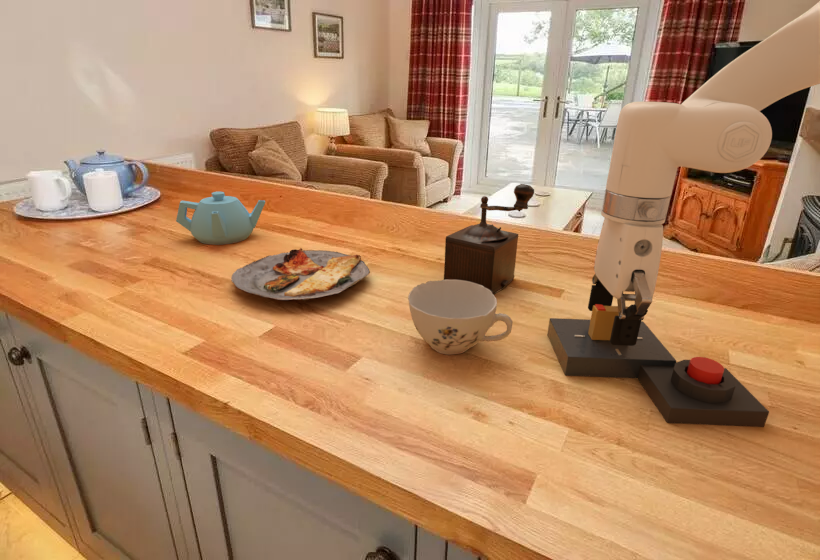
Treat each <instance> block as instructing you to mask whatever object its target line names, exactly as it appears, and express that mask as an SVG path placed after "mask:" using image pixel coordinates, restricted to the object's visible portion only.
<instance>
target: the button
mask: <svg viewBox="0 0 820 560" xmlns="http://www.w3.org/2000/svg"><path fill="white" fill-rule="evenodd" d="M689 360H690V362H689V366H688V370H687V374H688V376H689V377H691V378H693V379H695V380H697V381H699V382H703V383H706V384H719V383H720V382H721V379H722V376H723V373H724V368H725V367H724V365H722V364H721V363H720V362H718V361H717V360H714V359H713V358H709V357H705V356H694V357H691V358H690V359H689Z"/></svg>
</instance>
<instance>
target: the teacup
mask: <svg viewBox="0 0 820 560" xmlns="http://www.w3.org/2000/svg"><path fill="white" fill-rule="evenodd" d="M407 298H408V299H407V300H408V306H409V312H410V316H411V320H412V323H413V326H414V327H415V329H416V331H417V332H418V334H419V335H420V337H421V338H422V339H423V340H424V341H425V343H426V344H428V345H429V346H430V348H431V349H432V350H433V351H435V352H437V353H439V354H442V355H459V354H463V353H465V352H467V351H468V350H469V349H471V348H472V347H474V346H475V345H477V344H478V343H481V342H498V341H502V340H504V339H506V338H507V337H509V335H510V334H511V333H512V330H513V320H512V318H511V316H510V315H508V314H506V313H502V312H501V313H500V312H499V313H496V312H497V309H498V308H497V307H498V298H497V297H496V296H495V294H492V292H491V291H490V290H489V289H487V288H484V286H482V285H479V284H476V283H472V282H469V281H463V280H444V279H440V280H429V281H427V282H425V283H424V282H422V283H420V284H417V285H416V286H414V287H413V288H412V290H410V292H409V294H408V297H407ZM497 322H503V323H505V326H506V330H505V331H503V332H501V333H500V334H495V335H487V333H488V331H489V329H490V328H492V327H493V326H494V325H495V324H496V323H497Z"/></svg>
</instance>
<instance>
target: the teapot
mask: <svg viewBox="0 0 820 560" xmlns="http://www.w3.org/2000/svg"><path fill="white" fill-rule="evenodd" d="M265 204H266V200H264V199H263V200H262V199H258V201H257V202H256V204H255V206H254V208H253V209H252V211H251V212H249V210H248V209H247V208H246V206H245V205H244V204H243V203H242V201H240V199H239V198H238V197H236V196H231V195H226V194H225V192H224V191H213V192H211V196H208V197H204V198H202V199H200V200H199V202H196V201H195V202H194V201H188V200H180V202H179V204H178V209H177V214H176V219H175V223H177V224H179V225H180V226H181V227H183V228H185V229H186V230H187V231H189V232H190V234H191V235H192V237H193V238H195V240H197V241H198V242H199V243H202V244H204V245H209V246H210V245H211V246H212V245H213V246H221V245H231V244H237V243H240V242H243V241H245V240H247V239H248V238H249V237H250V235H251V234H252V233H253V231H254V229H256V226H257V225H258V222H259V220H260V217H261V214H262V212H263V209H264V207H265V206H266V205H265ZM188 209H191V210H194V211H193V214H192V217H191V218H189V217H188V216H187V215H188Z"/></svg>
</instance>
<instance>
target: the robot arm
mask: <svg viewBox="0 0 820 560" xmlns="http://www.w3.org/2000/svg"><path fill="white" fill-rule="evenodd" d="M817 85H820V0H819V1H818V2H817V3H816V4H814V5H813V6H811V7H810V8H809V9H808V10H806V11H805V12H804V13H802V14H801V15H799V16H797V17H796V18H794V19H792V20H790V21H789V22H788V23H786V24H785V25H783V26H781V27H780V28H779V29H777V30H776V31H775V32H773V33H772V34H770V35H769V36H767V37H766V38H765V39H763V40H761V41H760V42H758V43H757V44H755V45H754V46H752V47H751V48H749V49H748V50H746V51H744V52H743V53H741V54H740V55H739V56H737V57H736V58H735V59H733V60H732V61H730V62H729V63H727V64H726V65H725V66H724V67H722V68H721V69H720V70H718V71H717V72H716V73H714V75H713V76H711V77H710V78H709V79H708V80H706V82H704V83H703V84H702V85H701V86H700V87H698V89H696V90H695V91H694V92H693V93H692V94H691V95H689V96H688V97H687V98H686V99H685V100H683V102H682V103H676V102H669V101H667V102H666V101H632V102H629V103H627V104H625V105H623V107H622V108H621V109H620V111H619V115H618V119H617V124H616V129H615V134H614V141H613V146H612V151H611V158H610V163H609V169H608V173H607V180H606V185H605V190H604V196H603V201H602V208H601V213H600V215H601V216H602V217H603V218H604V219H603V221H602V226H601V230H600V234H599V237H598V242H597V247H596V251H595V257H594V264H593V265H594V266H593V271H594V275H593V276H592V279H591V283H592V284H591V288H590V294H589V298H588V303H587V309H588V311H590V312H592V309H593V305H595V304H602V305H603V306H613V300H614V299H616V302H617V306H618V316H615V318H614V323H613V328H612V332H611V337H610V342H611V344H612V345H627V346H634V345H635V344H636V342H637V337H638V333H639V329H640V325H641V321H644V320H645V317H646V315H647V313H648V312H649V310H648V309H649V308H650V306H651V305H652V303H653V298H654V295H655V291H656V287H657V281H658V276H659V270H660V266H661V265H660V264H661V258H662V251H663V239H664V225H663V224H665V222H666V219H667V214H668V211H669V207H670V202H671V198H672V193H673V189H674V185H675V181H676V176H677V172H678V168H679V167H681V168H688V169H694V170H699V171H705V172H709V173H716V174H717V173H719V174H727V173H728V174H729V173H735V172H740V171H742V170H745V169H747V168H749V167H751V166H753V165H755V164H756V163H757V162H759V161H760V160H761V159H762V158H763V157H764V156H765V154H766V153H767V152H768V150H769V148H770V145H771V143H772V139H773V130H772V126H771V123H770V121H769V119H768V118H767V116H765V114H763V112H761V111H763V110H764V109H766V108H767V107H770V106H771V105H772V104H774V103H776V102H778V101H779V100H781V99H784V98H785V97H787V96H790V95H793V94H794V93H797V92H799V91H802V90H806V89H808V88H810V87H814V86H817ZM624 292H626V293H624ZM627 292H628V293H627ZM629 292H630V293H629ZM626 302H634V304H630V305H628V306H626V305H627V304H626ZM626 307H628V308H627V309H626Z"/></svg>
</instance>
